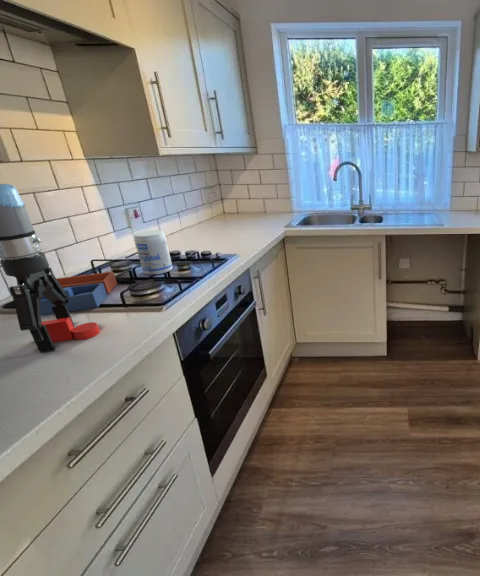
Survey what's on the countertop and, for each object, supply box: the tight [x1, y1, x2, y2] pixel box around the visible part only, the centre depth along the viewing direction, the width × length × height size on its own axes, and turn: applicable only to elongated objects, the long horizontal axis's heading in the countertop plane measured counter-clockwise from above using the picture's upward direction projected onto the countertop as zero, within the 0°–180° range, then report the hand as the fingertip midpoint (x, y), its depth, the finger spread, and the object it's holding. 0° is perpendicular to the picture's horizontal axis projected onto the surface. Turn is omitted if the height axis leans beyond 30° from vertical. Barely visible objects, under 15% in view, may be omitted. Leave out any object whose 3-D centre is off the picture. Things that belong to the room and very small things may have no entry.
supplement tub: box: [133, 229, 173, 276], centre depth 133 cm, size 10×10×15 cm
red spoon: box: [41, 317, 101, 343], centre depth 90 cm, size 12×5×5 cm, turn 110°
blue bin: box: [40, 283, 108, 317], centre depth 108 cm, size 16×9×4 cm, turn 111°
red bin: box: [56, 271, 118, 295], centre depth 117 cm, size 16×9×4 cm, turn 110°
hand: (58, 338), depth 90 cm, fingers open, 11 cm apart
